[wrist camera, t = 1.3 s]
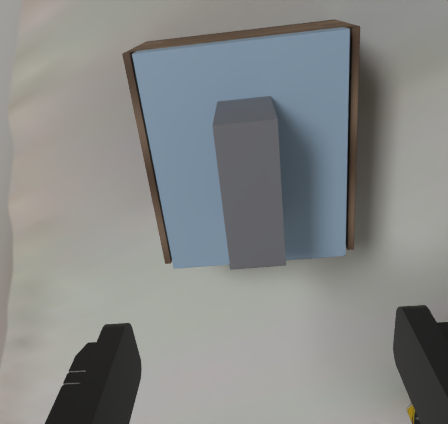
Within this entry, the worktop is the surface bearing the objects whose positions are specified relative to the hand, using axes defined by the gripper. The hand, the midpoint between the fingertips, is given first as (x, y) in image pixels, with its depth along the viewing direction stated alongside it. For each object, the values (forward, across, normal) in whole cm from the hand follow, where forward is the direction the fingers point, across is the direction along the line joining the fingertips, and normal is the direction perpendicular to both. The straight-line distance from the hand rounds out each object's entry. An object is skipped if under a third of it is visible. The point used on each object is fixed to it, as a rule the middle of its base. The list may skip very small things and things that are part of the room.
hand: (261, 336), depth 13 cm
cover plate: (+16, 0, 0) cm, 16 cm away
